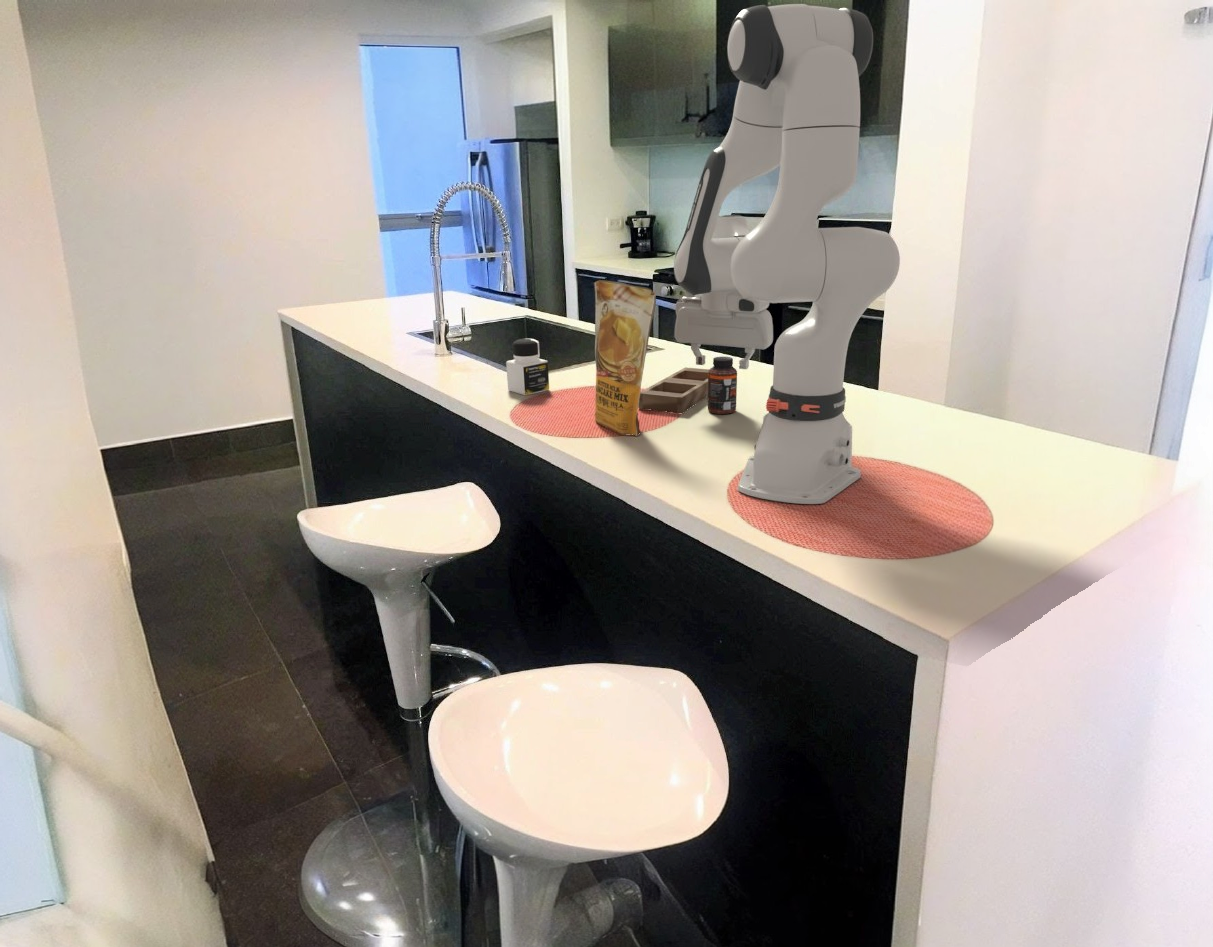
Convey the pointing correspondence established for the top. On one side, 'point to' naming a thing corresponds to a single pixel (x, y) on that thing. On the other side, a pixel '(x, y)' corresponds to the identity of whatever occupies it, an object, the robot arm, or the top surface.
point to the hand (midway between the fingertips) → (721, 366)
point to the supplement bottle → (722, 386)
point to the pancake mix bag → (620, 352)
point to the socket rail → (676, 391)
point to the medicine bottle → (527, 368)
